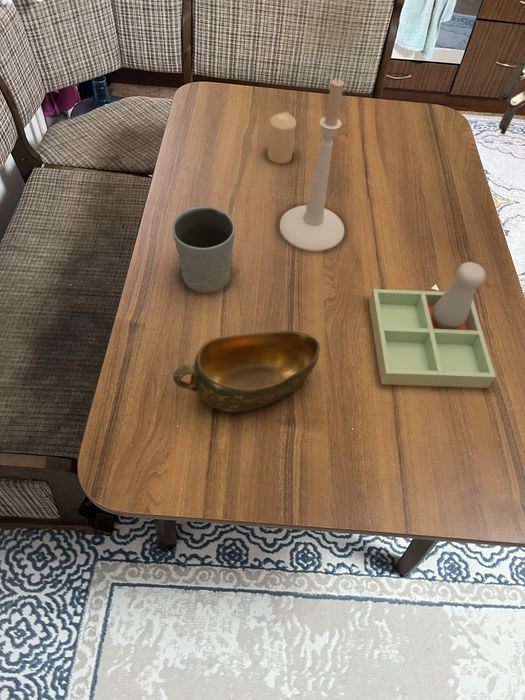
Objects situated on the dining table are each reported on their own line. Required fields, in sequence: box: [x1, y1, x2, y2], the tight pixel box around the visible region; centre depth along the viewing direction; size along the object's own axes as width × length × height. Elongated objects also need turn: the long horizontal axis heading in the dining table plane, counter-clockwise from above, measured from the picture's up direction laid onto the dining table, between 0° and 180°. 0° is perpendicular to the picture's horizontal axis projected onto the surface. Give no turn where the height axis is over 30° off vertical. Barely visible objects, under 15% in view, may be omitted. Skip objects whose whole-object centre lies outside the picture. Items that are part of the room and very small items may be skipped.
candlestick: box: [279, 78, 345, 252], centre depth 93 cm, size 13×13×30 cm
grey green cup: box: [171, 205, 236, 294], centre depth 91 cm, size 10×10×12 cm
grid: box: [368, 288, 497, 389], centre depth 89 cm, size 17×17×4 cm
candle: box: [267, 111, 297, 164], centre depth 114 cm, size 6×6×10 cm
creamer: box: [173, 330, 321, 414], centre depth 79 cm, size 13×20×10 cm, turn 82°
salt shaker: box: [433, 261, 487, 330], centre depth 87 cm, size 6×6×13 cm
